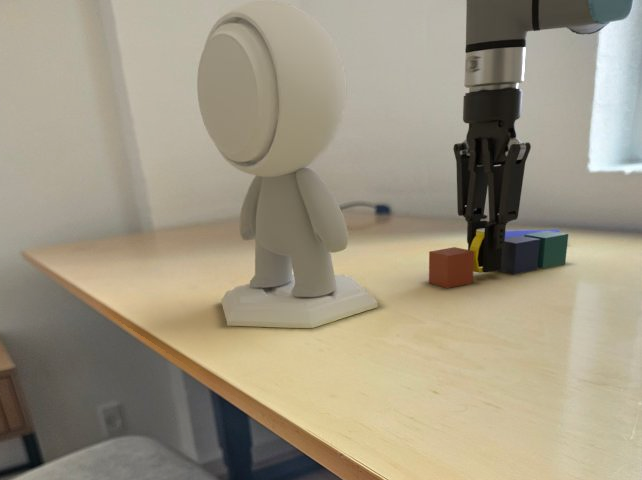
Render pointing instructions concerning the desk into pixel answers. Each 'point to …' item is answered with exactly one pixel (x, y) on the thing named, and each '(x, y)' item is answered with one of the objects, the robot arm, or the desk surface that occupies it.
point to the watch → (477, 248)
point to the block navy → (520, 255)
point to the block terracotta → (451, 267)
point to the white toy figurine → (280, 160)
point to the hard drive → (524, 232)
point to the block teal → (551, 248)
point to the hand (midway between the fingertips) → (483, 268)
